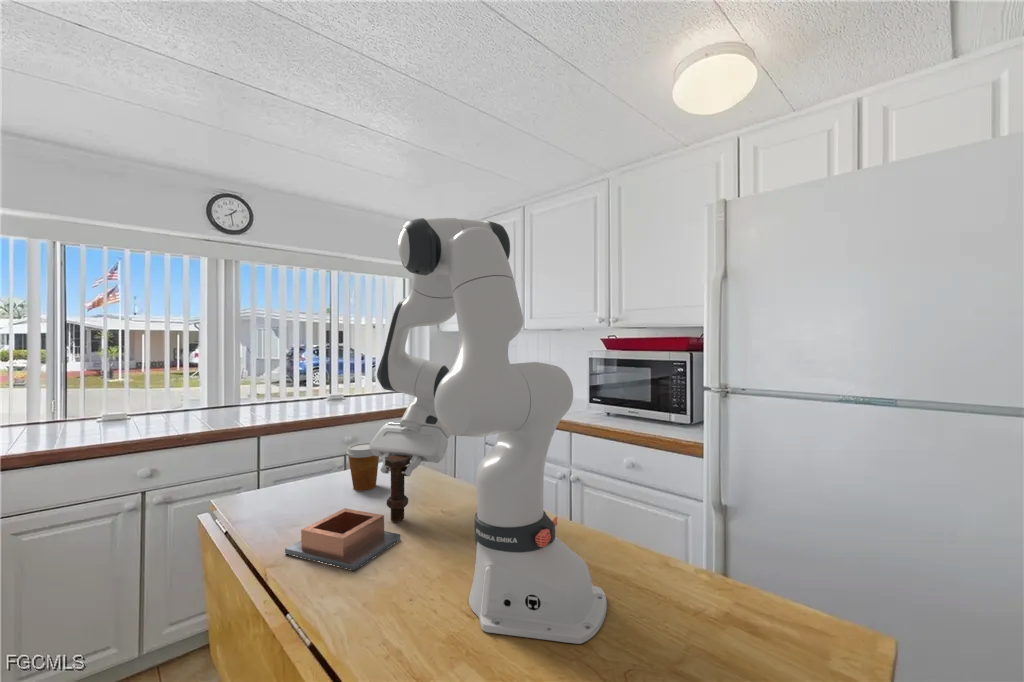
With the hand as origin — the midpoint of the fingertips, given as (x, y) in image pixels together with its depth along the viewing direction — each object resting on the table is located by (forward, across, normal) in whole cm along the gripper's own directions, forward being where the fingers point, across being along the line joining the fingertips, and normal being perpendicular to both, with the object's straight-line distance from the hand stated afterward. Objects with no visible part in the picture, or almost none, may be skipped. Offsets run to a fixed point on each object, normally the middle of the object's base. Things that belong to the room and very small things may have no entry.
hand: (394, 473), depth 107 cm
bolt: (+8, 0, +9) cm, 12 cm away
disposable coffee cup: (-4, -24, +20) cm, 31 cm away
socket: (+18, -2, -2) cm, 18 cm away
